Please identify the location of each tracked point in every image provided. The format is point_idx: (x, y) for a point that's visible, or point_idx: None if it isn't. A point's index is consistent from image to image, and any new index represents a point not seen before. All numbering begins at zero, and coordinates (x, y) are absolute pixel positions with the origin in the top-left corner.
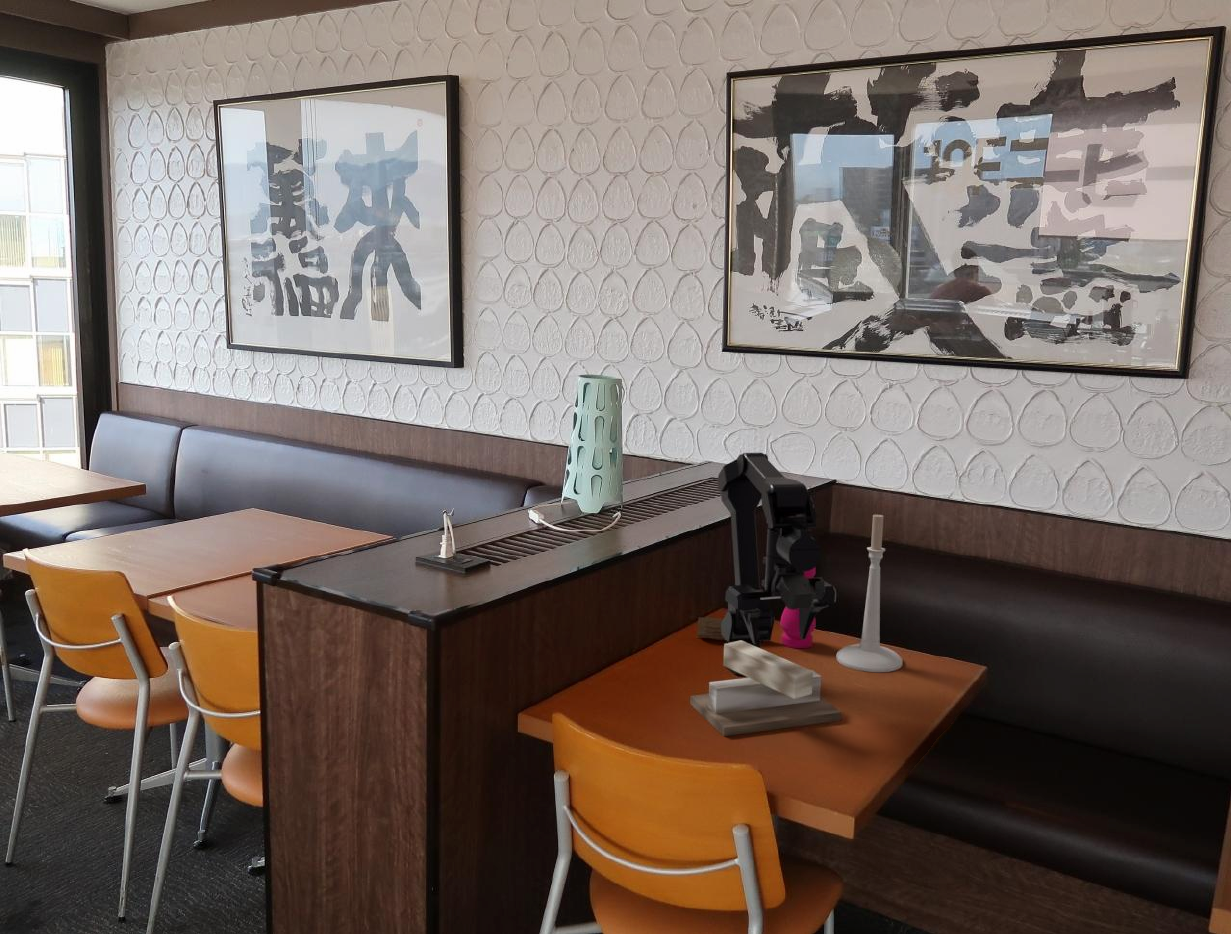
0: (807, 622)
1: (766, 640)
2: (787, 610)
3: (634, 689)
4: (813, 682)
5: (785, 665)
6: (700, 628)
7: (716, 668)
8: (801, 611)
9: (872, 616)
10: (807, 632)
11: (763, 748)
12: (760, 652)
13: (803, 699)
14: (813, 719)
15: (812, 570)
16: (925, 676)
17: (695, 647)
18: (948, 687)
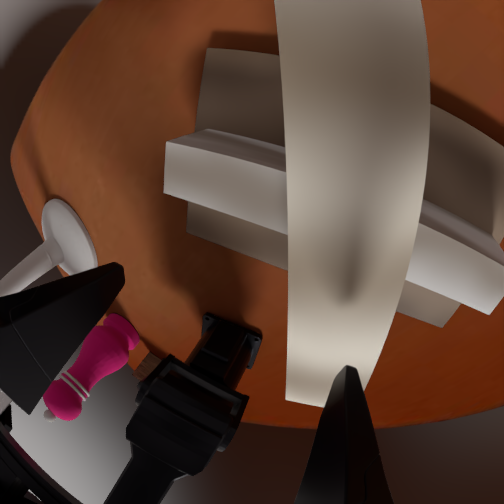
0: (49, 300)
1: (153, 355)
2: (108, 369)
3: (436, 386)
4: (199, 143)
5: (359, 137)
6: None
7: (270, 365)
8: (49, 363)
9: (18, 272)
10: (84, 271)
11: (497, 57)
12: (320, 326)
13: (251, 141)
14: None
15: (47, 389)
16: (38, 164)
17: None
18: (32, 122)
